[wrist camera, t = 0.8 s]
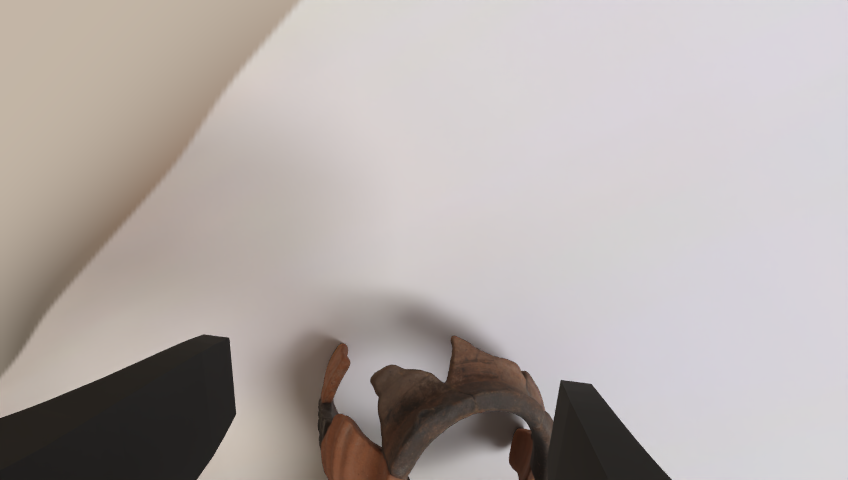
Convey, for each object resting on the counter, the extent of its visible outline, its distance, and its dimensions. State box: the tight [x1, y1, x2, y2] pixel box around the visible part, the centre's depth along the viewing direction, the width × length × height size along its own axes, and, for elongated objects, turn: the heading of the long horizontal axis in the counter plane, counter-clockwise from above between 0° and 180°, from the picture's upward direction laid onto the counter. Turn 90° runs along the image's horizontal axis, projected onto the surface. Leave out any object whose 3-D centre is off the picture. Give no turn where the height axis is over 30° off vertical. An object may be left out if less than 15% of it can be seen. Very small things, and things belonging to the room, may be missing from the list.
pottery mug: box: [318, 336, 553, 480], centre depth 21 cm, size 12×10×8 cm
